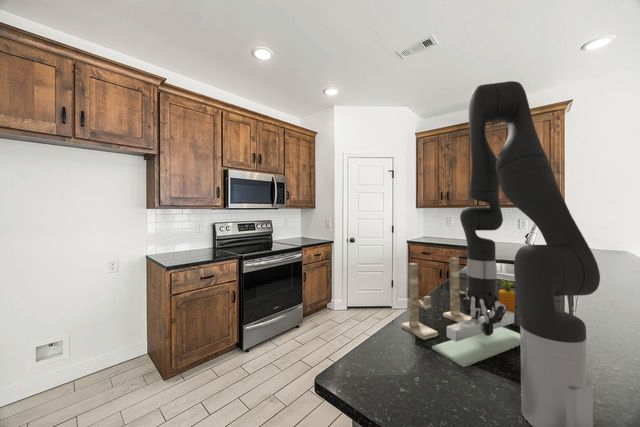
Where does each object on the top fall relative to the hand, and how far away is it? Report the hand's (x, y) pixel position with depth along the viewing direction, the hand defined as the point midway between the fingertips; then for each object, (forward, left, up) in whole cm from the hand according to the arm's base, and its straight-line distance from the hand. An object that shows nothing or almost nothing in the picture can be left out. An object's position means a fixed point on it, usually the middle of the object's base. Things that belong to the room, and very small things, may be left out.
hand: (482, 332), depth 78 cm
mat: (0, 0, -4) cm, 4 cm away
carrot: (+6, -22, -4) cm, 23 cm away
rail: (0, 0, +1) cm, 1 cm away
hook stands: (+14, 0, -4) cm, 14 cm away
